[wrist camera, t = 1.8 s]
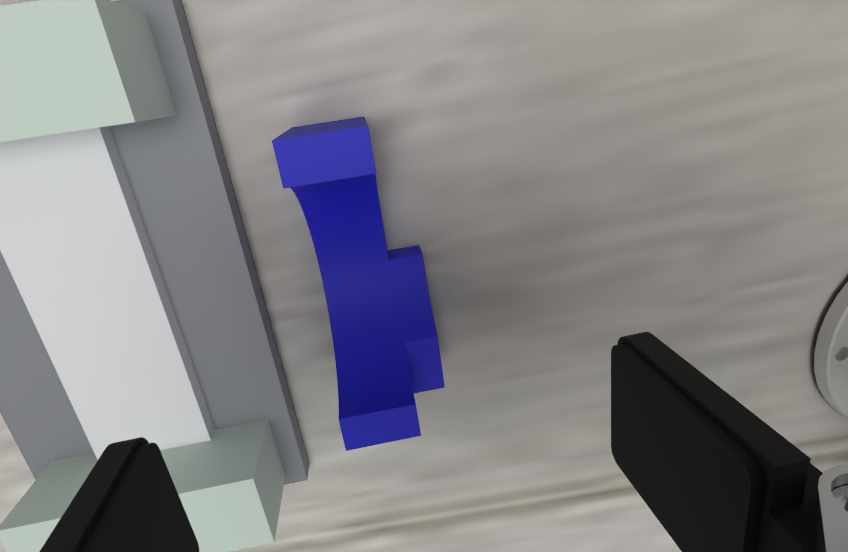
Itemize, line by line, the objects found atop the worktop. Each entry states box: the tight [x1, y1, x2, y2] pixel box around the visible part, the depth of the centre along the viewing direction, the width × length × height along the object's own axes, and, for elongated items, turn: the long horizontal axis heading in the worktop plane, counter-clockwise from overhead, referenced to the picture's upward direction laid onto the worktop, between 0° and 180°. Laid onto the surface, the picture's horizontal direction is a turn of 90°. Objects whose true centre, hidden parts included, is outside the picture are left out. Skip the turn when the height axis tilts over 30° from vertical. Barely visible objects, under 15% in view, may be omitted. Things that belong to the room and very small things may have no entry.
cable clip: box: [272, 117, 445, 451], centre depth 21 cm, size 12×4×6 cm, turn 8°
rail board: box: [0, 0, 309, 552], centre depth 20 cm, size 12×22×5 cm, turn 8°
